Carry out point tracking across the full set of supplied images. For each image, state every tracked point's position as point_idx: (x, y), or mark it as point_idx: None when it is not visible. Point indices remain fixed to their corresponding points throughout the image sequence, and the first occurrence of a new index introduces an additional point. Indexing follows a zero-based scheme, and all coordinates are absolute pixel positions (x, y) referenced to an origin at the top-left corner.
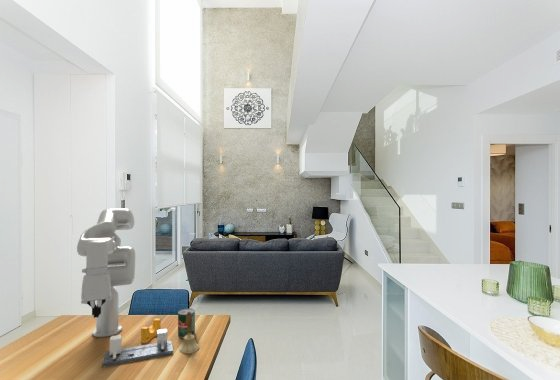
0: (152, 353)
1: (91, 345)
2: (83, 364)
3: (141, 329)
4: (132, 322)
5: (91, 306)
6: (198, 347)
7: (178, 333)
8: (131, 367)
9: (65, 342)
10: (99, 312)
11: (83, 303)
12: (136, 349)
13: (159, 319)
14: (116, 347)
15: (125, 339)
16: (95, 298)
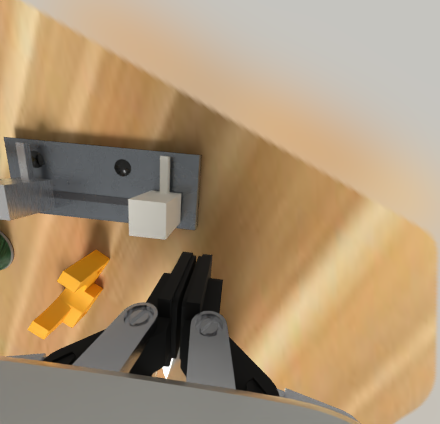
0: (62, 147)
1: (235, 304)
2: (250, 199)
3: (82, 279)
4: None
5: (222, 331)
6: None
7: (2, 249)
8: (123, 111)
9: (298, 353)
10: (167, 279)
11: (324, 407)
12: (110, 198)
13: (30, 325)
14: (155, 195)
15: None
16: (111, 419)
